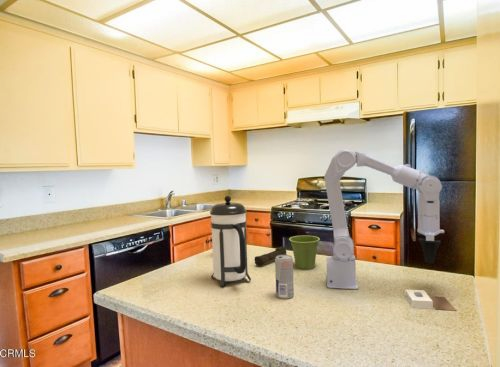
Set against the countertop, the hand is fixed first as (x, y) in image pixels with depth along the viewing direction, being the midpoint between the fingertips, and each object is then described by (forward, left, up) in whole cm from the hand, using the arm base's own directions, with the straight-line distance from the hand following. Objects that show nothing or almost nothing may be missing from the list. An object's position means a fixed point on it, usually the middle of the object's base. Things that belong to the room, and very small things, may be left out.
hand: (428, 259), depth 98 cm
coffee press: (-62, 0, -10) cm, 63 cm away
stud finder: (-5, -9, -10) cm, 15 cm away
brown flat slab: (0, -9, -10) cm, 13 cm away
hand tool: (-55, +21, -13) cm, 60 cm away
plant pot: (-39, +20, -10) cm, 45 cm away
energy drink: (-43, -10, -10) cm, 45 cm away
